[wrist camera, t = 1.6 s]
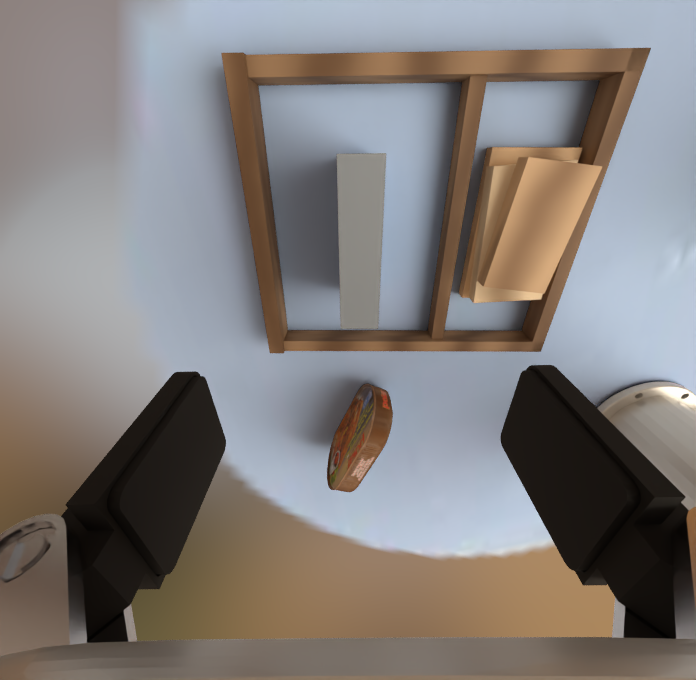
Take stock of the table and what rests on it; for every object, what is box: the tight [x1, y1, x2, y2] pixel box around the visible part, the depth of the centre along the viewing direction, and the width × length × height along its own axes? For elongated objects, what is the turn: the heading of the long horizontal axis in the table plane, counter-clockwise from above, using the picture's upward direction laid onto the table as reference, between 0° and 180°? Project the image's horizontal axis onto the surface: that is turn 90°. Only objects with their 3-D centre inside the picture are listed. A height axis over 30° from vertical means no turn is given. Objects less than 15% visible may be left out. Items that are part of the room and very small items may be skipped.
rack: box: [222, 48, 651, 353], centre depth 28 cm, size 29×24×3 cm
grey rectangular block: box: [337, 153, 386, 329], centre depth 25 cm, size 3×12×9 cm, turn 1°
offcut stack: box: [459, 147, 602, 303], centre depth 27 cm, size 7×13×5 cm, turn 0°
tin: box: [327, 384, 393, 492], centre depth 38 cm, size 15×3×8 cm, turn 158°
